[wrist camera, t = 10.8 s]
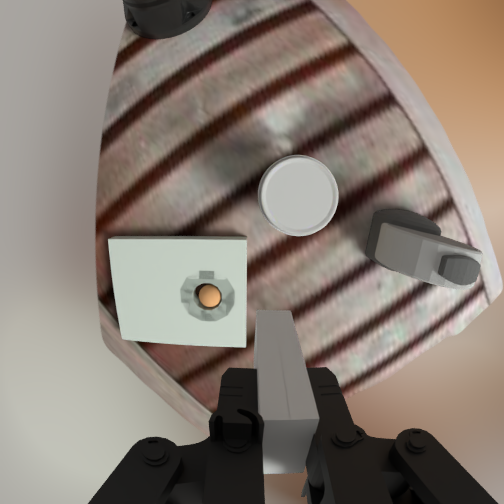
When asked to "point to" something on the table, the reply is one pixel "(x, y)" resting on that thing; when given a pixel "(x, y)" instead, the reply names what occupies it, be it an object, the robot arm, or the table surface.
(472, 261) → the alarm clock
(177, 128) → the table surface
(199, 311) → the plate
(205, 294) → the ball
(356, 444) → the robot arm
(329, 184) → the coffee cup
